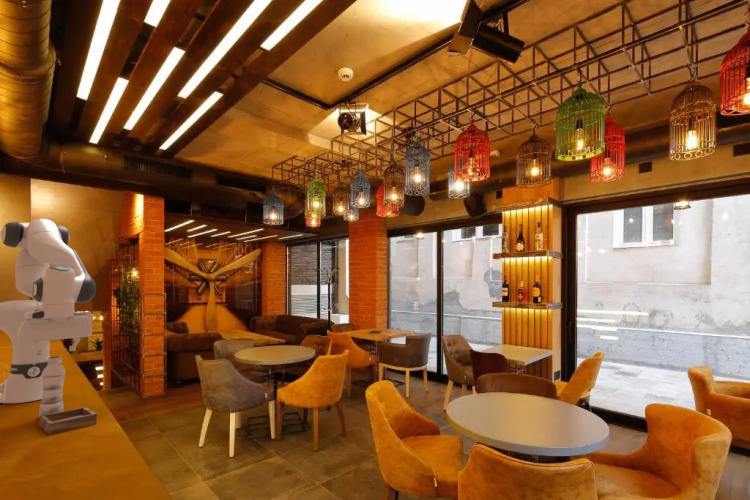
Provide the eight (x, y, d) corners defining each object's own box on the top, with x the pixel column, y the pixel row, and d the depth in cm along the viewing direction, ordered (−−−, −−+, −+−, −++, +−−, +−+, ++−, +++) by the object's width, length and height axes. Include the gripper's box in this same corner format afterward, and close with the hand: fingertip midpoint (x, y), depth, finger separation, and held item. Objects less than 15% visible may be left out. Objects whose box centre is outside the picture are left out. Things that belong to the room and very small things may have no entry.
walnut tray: (39, 425, 124) (40, 416, 124) (84, 415, 133) (85, 406, 133) (48, 434, 116) (49, 424, 117) (96, 423, 126) (96, 413, 126)
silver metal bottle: (49, 420, 128) (53, 359, 130) (33, 419, 130) (37, 358, 132) (68, 414, 135) (72, 355, 137) (52, 413, 136) (56, 355, 138)
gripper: (90, 310, 145) (88, 348, 144) (17, 314, 130) (14, 356, 128) (96, 311, 142) (94, 349, 140) (21, 314, 126) (18, 358, 124)
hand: (55, 352), depth 134 cm, fingers open, 8 cm apart
